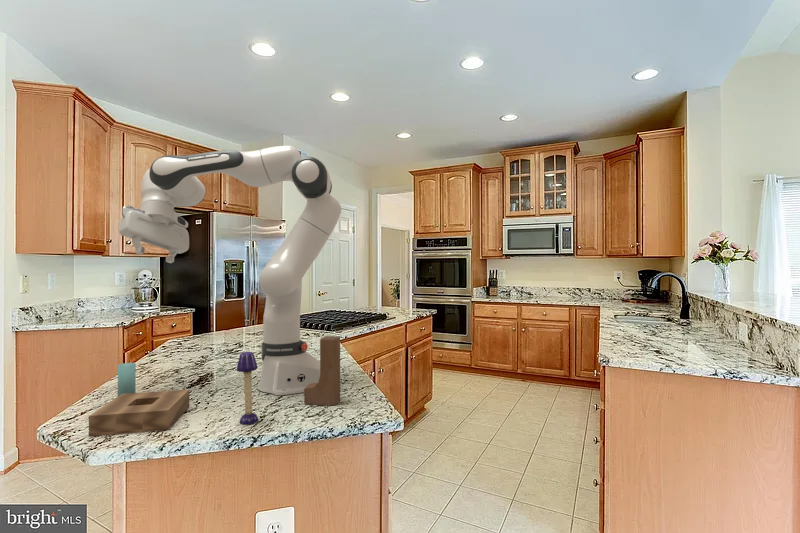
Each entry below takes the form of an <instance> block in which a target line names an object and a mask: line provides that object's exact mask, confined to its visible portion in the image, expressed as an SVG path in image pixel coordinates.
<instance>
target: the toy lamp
mask: <svg viewBox="0 0 800 533" xmlns="http://www.w3.org/2000/svg"><path fill="white" fill-rule="evenodd" d="M237 362H238V363H237V366H236V371H237V372H239V373H243V376H244V377H243V389H244V390H243V392H244V394H243V395H244V398H243V399H244V407H245V408H244V414H242V415H241V417H240V419H239V424H240V425H242V426H243V425H244V426H248V425H253V424H256V423H257V422H258V421H259V417H258V414H256V413H254V412H253V395H252V393H253V389H252V387H253V383H252V380H253V378H252V372H253V371H255V370H257V369H258V364H257V360H256V356H255V354H254V352H252V351H245V352H241V353H240V354H239V357H238V361H237Z"/></svg>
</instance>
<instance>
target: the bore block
mask: <svg viewBox="0 0 800 533" xmlns="http://www.w3.org/2000/svg"><path fill="white" fill-rule="evenodd" d="M189 407H190V389H176V390H175V389H173V390H161V391H160V390H158V391H144V392H136V393H126V394H121V395H120V396H118V395H117V397H115V398H114V399H112V400H111V401H109V402H108V403H106V404H104V405H103V406H101V407H100V408H99V409H97V410H95V411H94V412H92V413H91V414H89V415H88V437H94V436H95V437H96V436H98V435H99V436H109V434H111V435H123V434H135V433H143V432H144V433H145V432H147V433H148V432H159V431H160V432H161V431H169V430H170V429H171V428H172V426H173V425H174V424H175V423H176V422H177V421H178V420H179V418H180V417H182V415H183V414H184V413H185V412H186V411H187V409H189ZM99 436H98V437H99Z"/></svg>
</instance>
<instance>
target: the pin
mask: <svg viewBox="0 0 800 533" xmlns="http://www.w3.org/2000/svg"><path fill="white" fill-rule="evenodd" d="M136 374H137V373H136V362H124V363H119V364H117V397H118V396H120V395H121V394H126V393H137V392H136V386H137V384H136V382H137V381H136Z"/></svg>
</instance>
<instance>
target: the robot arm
mask: <svg viewBox="0 0 800 533" xmlns="http://www.w3.org/2000/svg"><path fill="white" fill-rule="evenodd" d="M218 173H219V174H225V175H228V176H230V177H232V178H235V179H237V180H238V181H240V182H242V183H244V184H245V185H247V186H250V187H252V188H261V187H267V186H270V185H274V184H277V183H281V182H282V183H283V182H286V181H289V182H292V183H293V184H294V185H295V187H296V189H297V191H298V192H299V193H300V194H301V196H302V197H304V198H305V199H306V204H305V207H304V209H303V211H302V213H301V214H300V216H299V217H298V218H297V220H296V221H295V224H294V225H293V227H292V228H291V230H290V232H289V234H287V236H286V238H285V239H284V241H283V242H282V243H281V244H280V246H279V247H278V248H277V249H276V250H275V252H274V254H273V255H272V256H271V257H270V259H269V260H268V261H267V263H266V264H265V266H264V267H263V269H262V270H261V272H260V274H259V277H258V283H259V286H260V289H261V291H263V293H264V294H265V295H266V296H265V297H266V298H265V306H264V310H263V311H264V312H263V317H262V318H263V319H262V320H263V321H262V324H263V326H262V328H263V330H262V332H263V333H262V334H263V335H262V336H263V338H262V342H261V345H260V346H261V352H260V353H261V360H262V362H261V363H262V364H261V365H262V366H261V373H260V378H259V383H258V385H257V390H258V391H261V392H263V393H269V394H273V395H275V396H284V395H285V396H286V395H292V394H293V395H294V394H301V393H304V388H305V387H307V386H308V385H309V384H311V383H318V382H319V378H320V359H317V358H316V357H315V356H313V355H311V354H310V353H309V352H307V350H308V349H309V345H308V343H307V341H304V340H301V307H302V306H301V305H302V290H303V289H302V288H303V287H302V286H303V283H302V282H303V281H302V280H303V277H304V276H305V275H306V273H307V272H308V270H309V269H310V267H311V266H312V264H313V263H314V262H315V260H316V259H317V258H318V256H319V254H320V253H321V251H322V250H323V248H324V246H325V245H326V243H327V241H328V239H329V238H330V236H331V235H332V233H333V231H334V230H335V228H336V226H337V224H338V221H339V219H340V216H341V214H342V206H341V204H340V203H339V201H338V199H336V198H335V197H334V196H332V195H331V192H332V189H333V188H332V187H333V184H332V181H331V180H332V179H331V176H330V174H329V172H328V169H327V168H326V166H325V164H324V163H323V161H320V159H318V158H316V157H313V156H304V157H302V155H301V153H300V152H299V150H298V149H297V148H296V147H294V146H293V145H288V144H287V145H278V146H277V145H276V146H275V145H274V146H270V147H265V148H261V149H256V150H250V151H246V150H245V151H241V150H240V151H239V150H234V149H226V150H225V149H223V150H216V151H215V150H214V151H210V152H209V151H208V152H201V153H194V154H193V153H192V154H188V155H187V154H186V155H178V154H177V155H175V154H168V155H162V156H160V157H158V158H156V159H155V160H154V161H152V163H151V165H150V167H149V168H148V169H147V170H146V171H145V173H144V174H143V177H142V180H141V187H140V188H141V190H140V196H141V202H140V204H139V205H140V207H139V208H137V207H134V206H132V205H124V206H123V207H122V208H121V217H120V221H119V226H118V233H119V234H120V235H121V236H123V237H126V238H130V239H131V243H132V245H133V246H134V248H135V250H134V251H135V254H137V255H141V256H142V255H143V254H144V253H145V249H146V248H145V247H144V246H143V245H142V243H145V244H148V245H150V246H154V247H157V248H160V249H163V250H167V251H168V254H169V255H168V256H165V262H166V263H169V264H172V263H174V262H175V257H176V256H177V254H184V253H186V252H187V251H188V250H189V249H190V235H189V232H188V230H187V228H189V222H188V221H187V220H185V219H184V217H182V216H180V215H179V214H178V213H177V212H176V211H175V210H174V209H175V208H189V207H190V208H191V207H195V206H198V205H199V204H201V203H202V202H203V201H204V199H205V196H206V193H207V189H206V186H205V185H204V184H203V183H202V182H201V180H200V179H199V178H198V176H204V175H211V174H218Z"/></svg>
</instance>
